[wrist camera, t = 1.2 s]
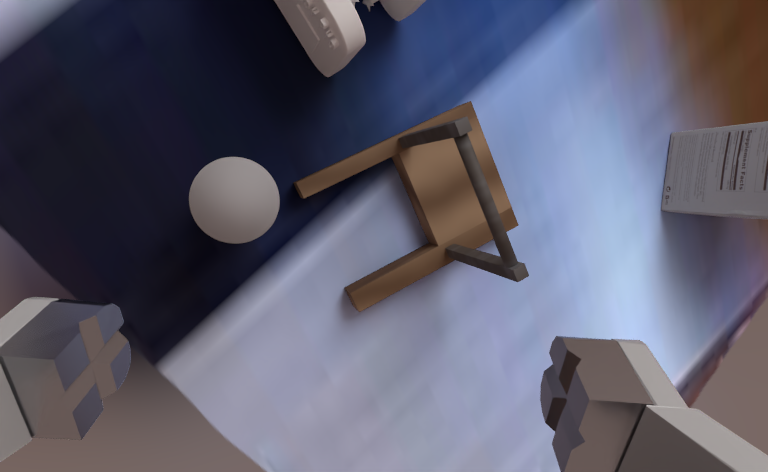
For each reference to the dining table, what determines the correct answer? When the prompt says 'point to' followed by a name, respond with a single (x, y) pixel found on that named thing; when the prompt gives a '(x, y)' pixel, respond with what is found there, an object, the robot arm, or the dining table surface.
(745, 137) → the supplement box
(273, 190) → the grey mushroom bollard
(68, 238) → the dining table surface
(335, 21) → the cable organizer
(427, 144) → the wooden frame
